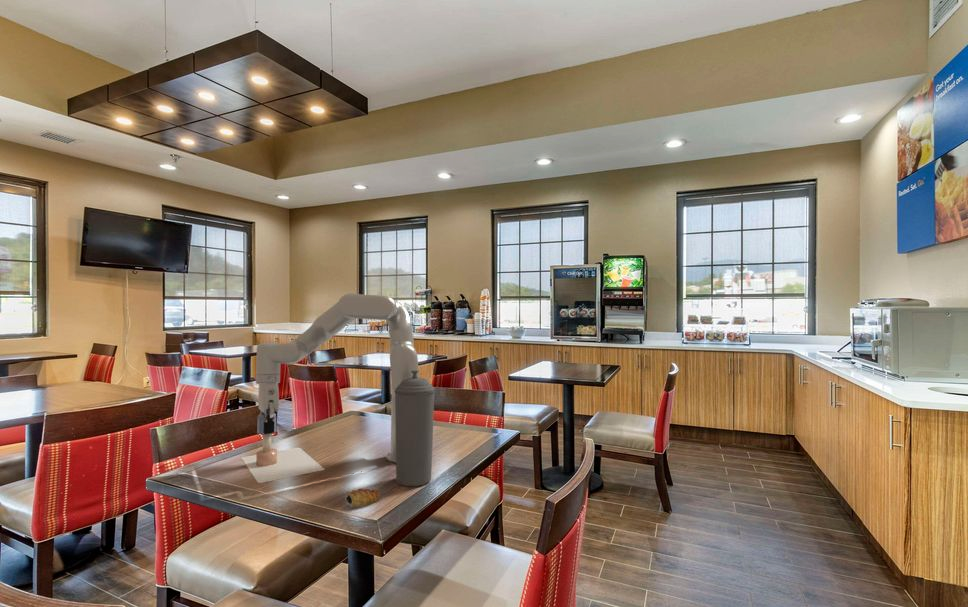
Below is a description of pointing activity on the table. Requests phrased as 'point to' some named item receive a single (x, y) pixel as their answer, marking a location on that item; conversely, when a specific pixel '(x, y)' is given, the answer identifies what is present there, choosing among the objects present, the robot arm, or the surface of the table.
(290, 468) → the board
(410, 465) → the canister
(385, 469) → the table surface
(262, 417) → the cap
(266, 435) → the round stamp handle
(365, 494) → the pastry
